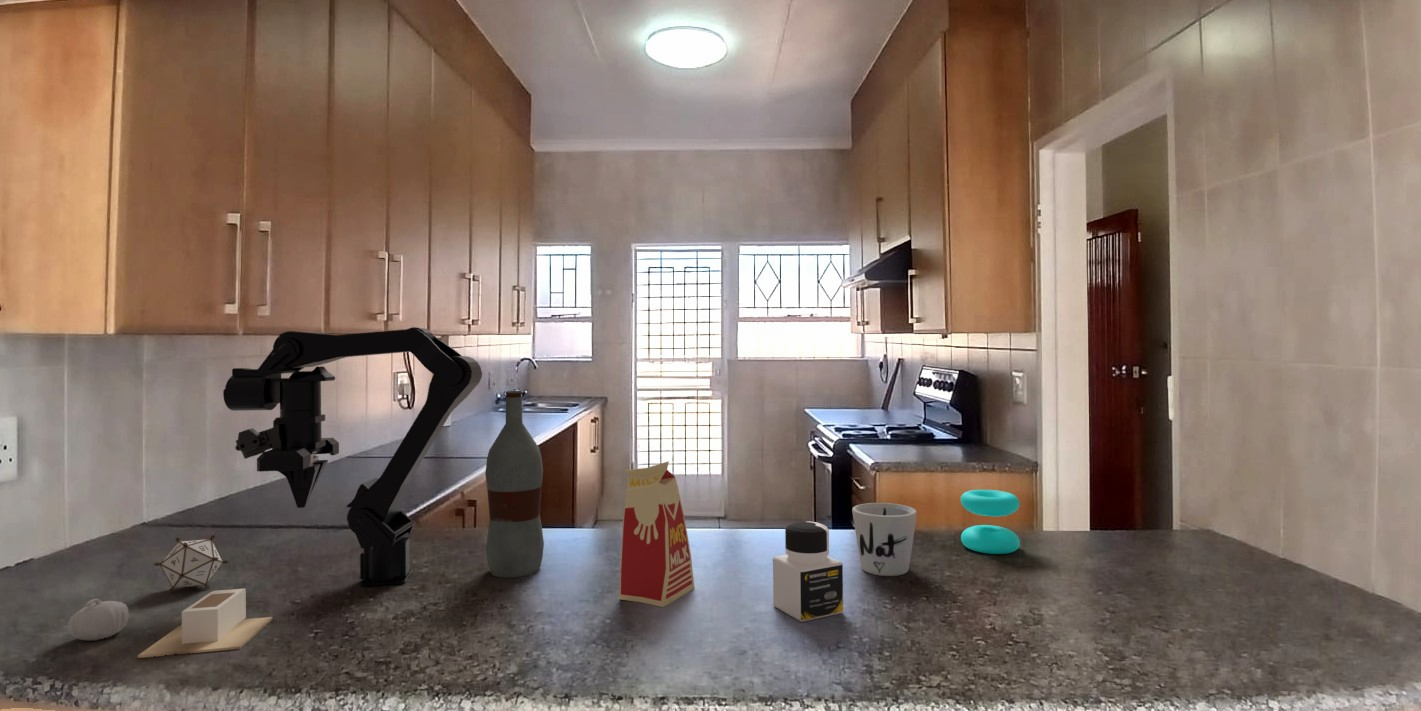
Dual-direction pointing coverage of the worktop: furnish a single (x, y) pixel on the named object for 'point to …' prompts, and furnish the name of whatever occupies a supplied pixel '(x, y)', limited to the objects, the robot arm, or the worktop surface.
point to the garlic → (98, 620)
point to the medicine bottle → (807, 574)
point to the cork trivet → (228, 642)
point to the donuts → (988, 535)
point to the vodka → (514, 497)
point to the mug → (884, 537)
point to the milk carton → (654, 539)
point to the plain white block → (213, 616)
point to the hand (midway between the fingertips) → (301, 507)
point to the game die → (191, 563)
